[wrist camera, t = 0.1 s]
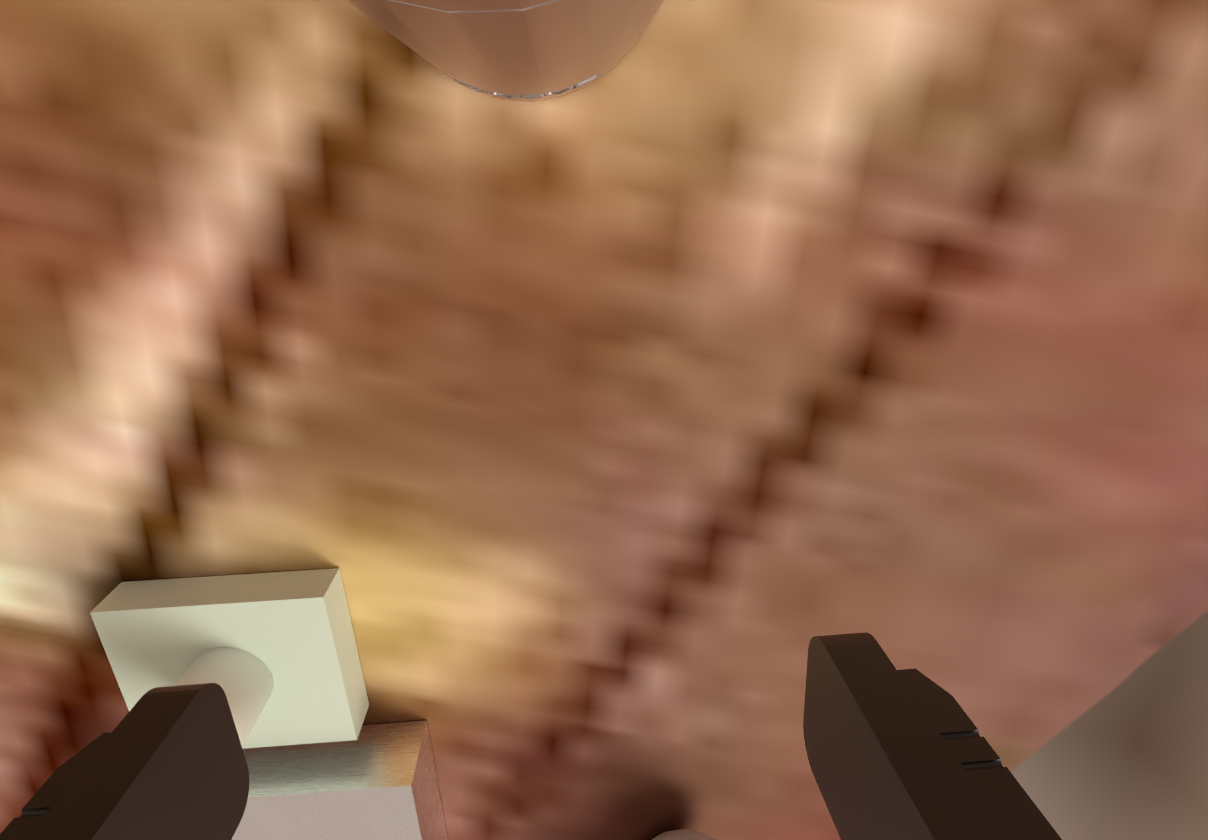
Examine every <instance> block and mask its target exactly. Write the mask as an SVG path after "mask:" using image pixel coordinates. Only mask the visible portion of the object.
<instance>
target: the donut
mask: <svg viewBox="0 0 1208 840" xmlns="http://www.w3.org/2000/svg"><path fill="white" fill-rule="evenodd" d="M652 840H717V839H715V838H713V837H711V836H709V835H706V834H704V833H702V832H699V831H697V830H693V829H690V828H689V829H681V830H674V831H667V832H663V833H661V834H660V835H658V836H657V837H655V838H653V839H652Z"/></svg>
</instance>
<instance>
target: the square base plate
mask: <svg viewBox="0 0 1208 840" xmlns="http://www.w3.org/2000/svg"><path fill="white" fill-rule="evenodd" d="M90 614H91V617H92V619H93V622H94V624H95V627H96V629H97V632H98V635H99V637H100V640H101V642H102V645H103V647H104V650H105V652H106V655H107V657H108V660H109V662H110V665H111V667H112V670H113V672H114V675H115V677H116V680H117V682H118V685H119V687H120V690H121V692H122V695H123V697H124V700H125V702H126V705H127V707H128V710H129V712H130V710H131V709H132V708H133V707H134V705H135V704H136V703H137V702H138V701H139V699H140V698H141V697H142V696H143V695H144V694H145V693H146V692H148V691H149V690H151V689H153V688H157V687H167V686H174V685H175V684H176V683H177V681H178V680H179V679H180V677H181V676H182V675H183V673H184V672H185V671H186V669H187V668H188V666H189V665H190V664H191V662H192V661H193V660H194V659H195V658H196V657H197V656H198V655H199V654H201V653H203V652H205V651H207V650H210V649H214V648H220V647H228V648H236V649H240V650H244V651H246V652H249V653H251V654H253V655H255V656H256V657H258V658H259V659H260V660H261V661H263V662H264V663H265V664H266V666H267V667H268V668H269V670H270V672H271V674H272V676H273V680H274V687H273V691H272V694H271V696H270V698H269V700H268V701H267V703H266V705H265V707H264V709H263V711H262V712H261V714H260V716H259V718H258V720H257V722H256V723H255V725H254V727H253V729H252V731H251V733H250V734H249V736H248V738H247V740H246V742H245V744H244V745H243V747H242V749H245V748H258V747H272V746H285V745H298V744H312V743H325V742H338V741H352V740H357V739H358V736H359V733H360V730H361V727H362V724H363V722H364V719H365V716H366V713H367V710H368V707H369V701H368V697H367V692H366V688H365V683H364V679H363V674H362V669H361V665H360V660H359V656H358V651H357V647H356V642H355V638H354V633H353V628H352V624H351V619H350V615H349V610H348V606H347V601H346V597H345V592H344V587H343V583H342V578H341V574H340V569H339V568H333V569H317V570H301V571H286V572H270V573H255V574H239V575H223V576H208V577H192V578H176V579H161V580H145V581H130V582H121V583H120V584H119V585H118V586H117V587H116V588H115V589H114V590H113V591H112V592H111V593H110V594H109V595H108V596H106V597H105V598H104V599H103V600H102V601H101V602H100V603H99V604H98V605H97V606H96V607H95V608H94V609H93V610H92V611H91V612H90Z"/></svg>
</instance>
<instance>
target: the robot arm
mask: <svg viewBox="0 0 1208 840" xmlns="http://www.w3.org/2000/svg"><path fill="white" fill-rule="evenodd" d="M346 1H347V2H348V3H350V4H351V5H352V6H354V7H355V8H356V9H358V10H359V11H360V12H362V13H363V14H364V15H366V16H367V17H368V18H370V19H371V20H373V21H374V22H375V23H377V24H378V25H379V26H381V27H382V28H383V29H385V30H386V31H387V32H389V33H390V34H391V35H393V36H394V37H395V38H397V39H398V40H399V41H401V42H402V43H403V44H405V45H406V46H407V47H409V48H410V49H412V50H413V51H414V52H416V53H417V54H418V55H419V56H421V57H422V58H423V59H425V60H426V61H427V62H429V63H430V64H432V65H433V66H434V67H436V68H437V69H438V70H440V71H441V72H443V73H444V74H445V75H447V76H449V77H451V78H452V79H454V81H456V82H457V83H459V84H461V85H464V86H466V87H468V88H470V89H472V90H474V91H477V92H480V93H484V94H487V95H490V96H493V97H496V98H499V99H505V100H517V101H529V102H532V101H539V100H545V99H552V98H558V97H562V96H564V95H567V94H569V93H572V92H574V91H577V90H579V89H582V88H584V87H587V86H589V85H590V84H591V83H593V82H594V81H596V80H597V79H598V78H600V77H601V76H603V75H604V74H606V73H607V72H608V71H610V70H611V69H613V68H614V67H615V65H616V64H617V63H618V62H619V61H620V60H621V59H622V58H623V57H624V56H625V55H626V53H627V52H628V51H629V50H630V49H631V48H632V47H633V46H634V45H635V43H636V41H637V40H638V38H639V37H640V35H641V34H642V32H643V30H644V29H645V27H646V26H647V25H648V23H649V22H650V21H651V19H652V18H653V16H654V15H655V13H656V12H657V10H658V9H659V7H660V6H661V4H662V3H663V1H664V0H346ZM803 727H804V739H805V746H806V751H807V755H808V759H809V763H810V766H811V769H812V772H813V774H814V777H815V779H816V782H817V784H818V786H819V789H820V791H821V793H822V796H823V798H824V800H825V803H826V805H827V808H828V810H829V812H830V815H831V817H832V819H833V822H834V824H835V826H836V829H837V831H838V833H839V836H840V838H841V840H1062V839H1061V838H1060V837H1059V835H1058V834H1057V833H1056V831H1055V830H1054V829H1053V827H1052V826H1051V825H1050V823H1049V822H1048V821H1047V820H1046V818H1045V817H1044V816H1043V814H1042V813H1041V812H1040V810H1039V809H1038V808H1037V806H1036V805H1035V804H1034V802H1033V801H1032V800H1031V799H1030V797H1029V796H1028V795H1027V793H1026V792H1025V791H1024V789H1023V788H1022V787H1021V786H1020V784H1019V783H1018V782H1017V780H1016V779H1015V778H1014V776H1013V775H1012V774H1011V772H1010V771H1009V770H1008V768H1007V767H1003V766H1002V764H1001V761H1000V760H1001V759H1000V758H999V757H998V755H997V754H996V753H995V751H994V750H993V749H992V747H991V746H990V745H989V743H988V742H987V741H986V739H985V738H984V737H980V736H979V733H978V729H977V728H976V726H975V725H974V724H973V722H972V721H971V720H970V719H969V717H968V716H967V715H966V713H965V712H964V711H963V709H962V708H961V707H960V705H959V704H958V703H957V701H956V700H955V699H954V698H953V696H952V695H950V694H949V693H948V692H946V691H945V690H944V689H942V688H941V687H940V686H938V685H937V684H935V683H934V682H933V681H931V680H930V679H929V678H927V677H926V676H925V675H923V674H922V673H921V672H919V671H918V670H916V669H906V670H896V669H895V667H894V666H893V664H892V663H891V661H890V660H889V658H888V657H887V655H886V654H885V653H884V651H883V650H882V648H881V647H880V645H879V644H878V642H877V641H876V640H875V638H874V637H873V636H872V635H871V634H869V633H853V634H840V635H828V636H815V637H813V638H812V639H811V641H810V643H809V649H808V662H807V677H806V691H805V706H804V723H803ZM248 793H249V770H248V766H247V762H246V759H245V756H244V752H243V749H242V746H241V743H240V739H239V736H238V733H237V730H236V726H235V723H234V720H233V717H232V713H231V710H230V707H229V704H228V700H227V697H226V694H225V692H224V690H223V689H222V687H221V686H220V685H218V684H216V683H204V684H192V685H179V686H167V687H157V688H153V689H151V690H149V691H148V692H146V693H145V694H144V695H143V696H142V697H141V698H140V699H139V701H138V702H137V703H136V704H135V705H134V707H133V708H132V709H131V710H130V712H129V713H128V714H127V715H126V716H125V718H124V719H123V720H122V721H121V722H120V724H119V725H118V726H117V727H116V728H115V730H114V731H113V732H112V733H103V734H102V735H101V736H99V737H98V738H97V739H95V740H94V741H93V742H92V743H90V744H89V745H88V746H86V747H85V748H84V749H82V750H81V751H80V752H78V753H77V754H76V755H75V756H73V757H72V758H71V759H69V760H68V761H67V762H65V763H64V764H63V765H61V766H60V767H59V768H58V769H57V770H56V771H55V772H54V773H53V774H52V775H51V776H50V778H49V779H48V780H47V781H46V782H45V783H44V785H43V786H42V787H41V788H40V789H39V790H38V791H37V793H36V794H35V795H34V796H33V797H32V798H31V799H30V801H29V802H28V803H27V804H26V805H25V806H24V808H23V809H22V814H21V816H20V817H19V818H14V819H13V820H12V821H11V822H10V824H9V825H8V826H7V827H6V828H5V829H4V831H3V832H2V833H1V834H0V840H231V839H232V837H233V835H234V834H235V832H236V830H237V828H238V826H239V824H240V821H241V819H242V817H243V814H244V811H245V808H246V804H247V799H248Z"/></svg>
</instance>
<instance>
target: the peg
mask: <svg viewBox="0 0 1208 840" xmlns="http://www.w3.org/2000/svg"><path fill="white" fill-rule="evenodd" d="M204 683H216V684H218V685H220V686H221V687H222V689H223V690H224V692H225V694H226V697H227V700H228V704H229V707H230V710H231V713H232V717H233V720H234V723H235V726H236V730H237V733H238V736H239V739H240V743H241V746H242V747H243V745H244V744H245V742H246V740H247V738H248V736H249V734H250V733H251V731H252V729H253V727H254V725H255V723H256V722H257V720H258V718H259V716H260V714H261V712H262V711H263V709H264V707H265V705H266V703H267V701H268V700H269V698H270V696H271V694H272V691H273V687H274V680H273V676H272V674H271V672H270V670H269V668H268V667H267V666H266V664H265V663H264V662H263V661H261V660H260V659H259V658H258V657H256V656H255V655H253V654H251V653H249V652H246V651H244V650H240V649H236V648H228V647H220V648H214V649H210V650H207V651H205V652H203V653H201V654H199V655H198V656H197V657H196V658H195V659H194V660H193V661H192V662H191V664H190V665H189V666H188V668H187V669H186V671H185V672H184V673H183V675H182V676H181V677H180V679H179V680H178V681H177V683H176V684H175V685H174V686H179V685H192V684H204Z"/></svg>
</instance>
